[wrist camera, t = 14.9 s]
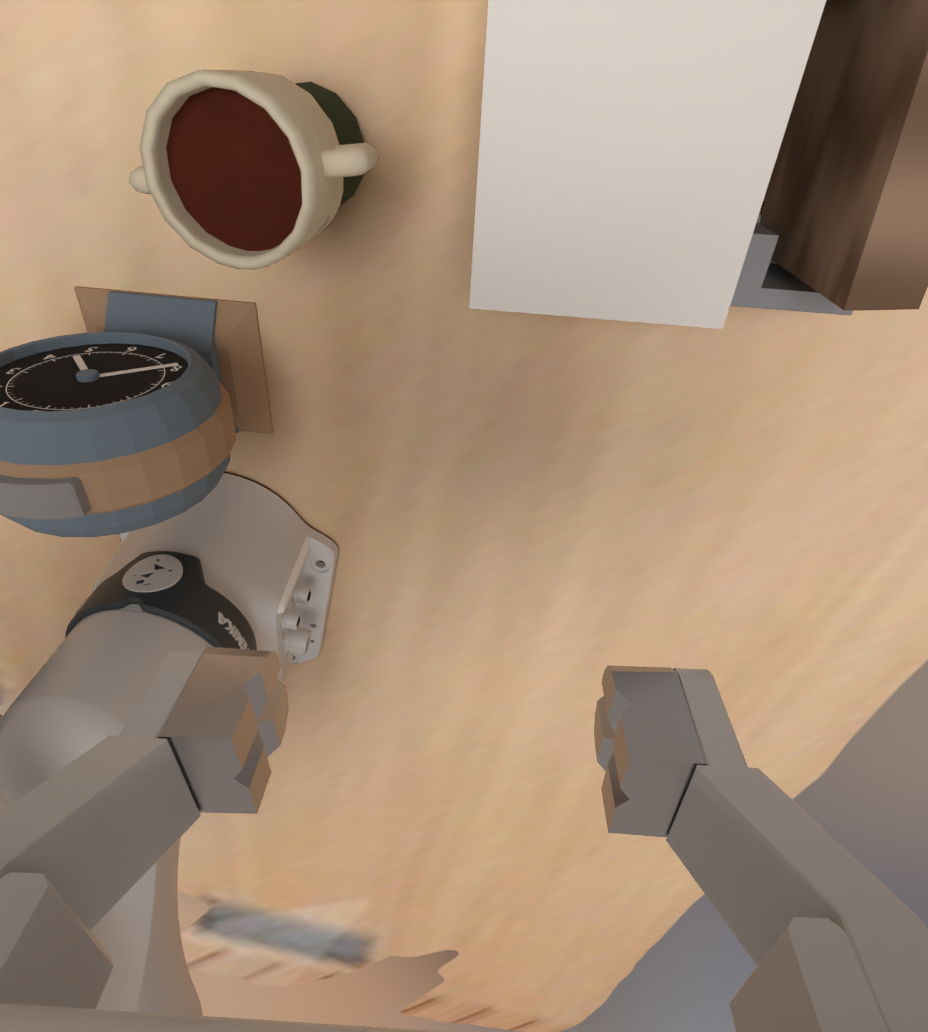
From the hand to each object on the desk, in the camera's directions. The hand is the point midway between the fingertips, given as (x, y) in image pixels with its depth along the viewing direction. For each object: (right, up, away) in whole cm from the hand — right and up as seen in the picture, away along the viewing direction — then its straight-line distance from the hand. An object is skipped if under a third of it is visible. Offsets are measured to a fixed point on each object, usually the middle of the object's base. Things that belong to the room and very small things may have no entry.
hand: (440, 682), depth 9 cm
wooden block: (+19, +23, +22) cm, 37 cm away
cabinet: (+12, +25, +23) cm, 36 cm away
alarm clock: (-20, +14, +34) cm, 42 cm away
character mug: (-8, +24, +25) cm, 36 cm away
